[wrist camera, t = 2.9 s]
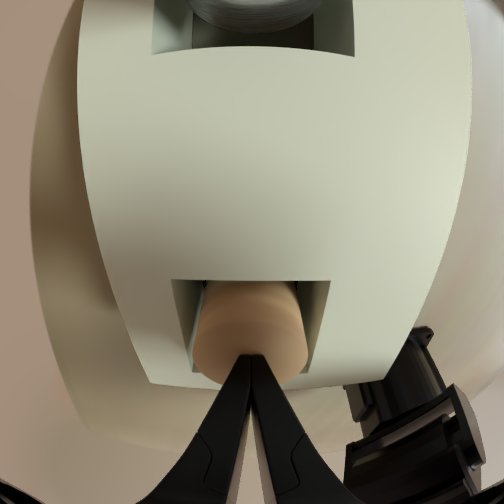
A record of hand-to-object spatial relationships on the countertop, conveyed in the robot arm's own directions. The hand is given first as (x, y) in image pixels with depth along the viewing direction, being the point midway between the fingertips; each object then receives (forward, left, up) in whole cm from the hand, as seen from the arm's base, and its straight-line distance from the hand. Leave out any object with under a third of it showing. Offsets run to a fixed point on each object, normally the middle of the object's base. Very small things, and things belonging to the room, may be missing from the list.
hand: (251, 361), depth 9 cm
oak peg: (0, 0, -5) cm, 5 cm away
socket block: (-1, -6, -6) cm, 9 cm away
